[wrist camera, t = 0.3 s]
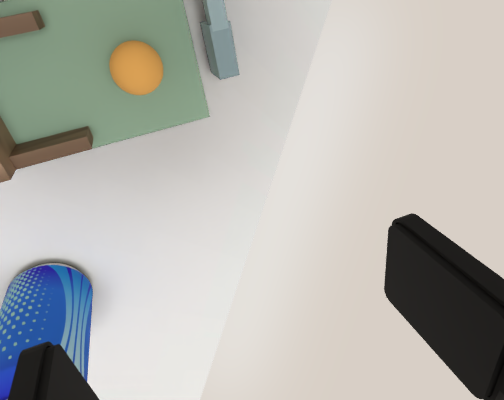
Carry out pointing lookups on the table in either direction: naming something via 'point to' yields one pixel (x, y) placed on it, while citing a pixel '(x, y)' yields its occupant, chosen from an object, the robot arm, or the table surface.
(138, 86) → the ball
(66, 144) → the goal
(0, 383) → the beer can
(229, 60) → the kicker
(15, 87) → the felt mat
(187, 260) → the table surface
